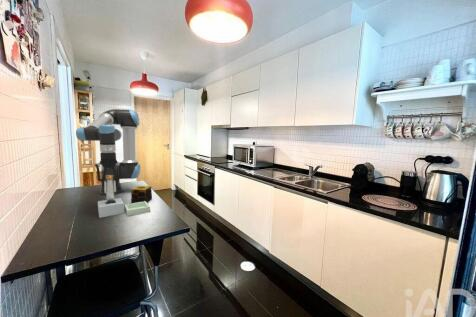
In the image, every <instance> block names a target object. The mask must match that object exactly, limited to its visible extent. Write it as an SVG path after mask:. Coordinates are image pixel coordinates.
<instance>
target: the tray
mask: <svg viewBox="0 0 476 317" xmlns="http://www.w3.org/2000/svg"><path fill="white" fill-rule="evenodd" d="M150 212H151V206H150V205H149V204H148V203H147V202H146V201H144V202H137V203H126V204H125V203H124V213H126V216H127V217H130V216H136V215H140V214H146V213H147V214H148V213H150Z"/></svg>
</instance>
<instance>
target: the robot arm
mask: <svg viewBox="0 0 476 317" xmlns="http://www.w3.org/2000/svg"><path fill="white" fill-rule="evenodd" d="M115 125H116V126H117V125H118V126H119V128H120V129H122V132H121V130H119V129H117V128H115ZM138 126H140V118H139V114H138V112H137V110H133V109H117V108H116V109H115V108H113V109H109V110H106V111H103V112H102V113H100V114H99V116H98V118H97V119H94V121H92V122H91V123H90V124H89V125H87V126H86V127H84V126H83V127H78V128H77V129H76V131H75V136H76V138H77V140H78V141H86V142H87V141H88V142H89V141H90V142H91V141H92V142H93V141H94V142H95V141H96V142H98V141H99V151H100V154H99V155H100V161H99V162H98V163H95V164H94V167H95V169H96V175H97V176H96V178H97V181H98V182H100V183H101V186H100V190H99V194H100V195H103V196H106V179H105V176H107V175H114V195H116V194H120V193H122V192H123V187H122V185H121V182H120V180H130V179H131V180H134V179H138V178H139V176H140V172H141V164H140V163H139V161H138V160H137V157H136V130H137V129H138ZM121 138H122V148H123V149H122V153H123V154H122V157H123V160H122V161H118V160H117V153H116V152H117V151H116V150H117V149H116V142H117V141H119V140H120V139H121ZM100 168H101V169H100ZM100 170H101V173H100Z"/></svg>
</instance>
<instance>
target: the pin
mask: <svg viewBox="0 0 476 317" xmlns="http://www.w3.org/2000/svg"><path fill="white" fill-rule="evenodd" d="M105 179H106V195H105V196H106V200H107V204H112V203H115V199H116V198H115V194H114V175H107V176H105Z"/></svg>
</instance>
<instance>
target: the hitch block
mask: <svg viewBox="0 0 476 317" xmlns="http://www.w3.org/2000/svg"><path fill="white" fill-rule="evenodd" d="M124 205H125V203H124V201H123V200H122V198H121V197H119V198H115V203H112V204H107V199H105V200H104V199H103V200H98V201H97V211H98V218H99V219H100V218H106V217H112V216H117V215H123V214H125V208H124Z"/></svg>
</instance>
